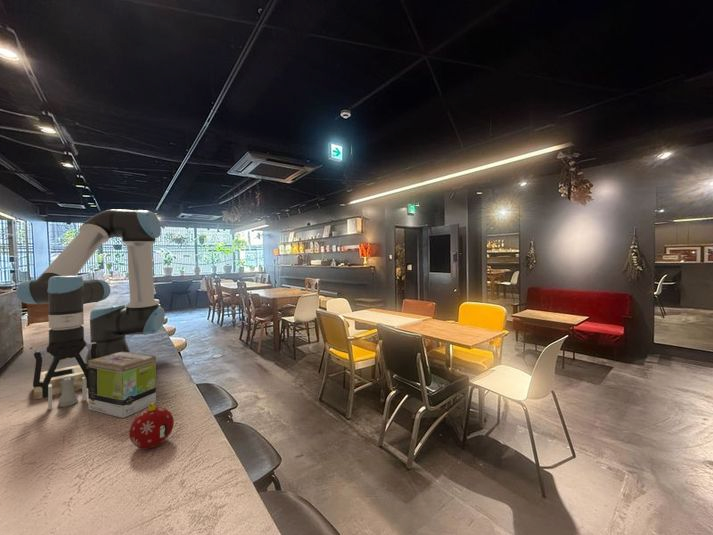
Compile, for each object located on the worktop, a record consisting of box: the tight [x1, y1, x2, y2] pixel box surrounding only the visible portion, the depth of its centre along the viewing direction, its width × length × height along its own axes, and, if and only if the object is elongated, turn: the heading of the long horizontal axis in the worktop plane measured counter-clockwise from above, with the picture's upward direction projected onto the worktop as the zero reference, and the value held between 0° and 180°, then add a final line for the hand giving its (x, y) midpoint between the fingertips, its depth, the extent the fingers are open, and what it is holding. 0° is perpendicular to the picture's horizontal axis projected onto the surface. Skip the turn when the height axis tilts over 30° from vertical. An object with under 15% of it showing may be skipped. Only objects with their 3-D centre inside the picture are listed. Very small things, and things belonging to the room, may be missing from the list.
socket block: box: [33, 364, 85, 400], centre depth 100 cm, size 12×12×5 cm
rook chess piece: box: [57, 376, 79, 408], centre depth 89 cm, size 4×4×8 cm
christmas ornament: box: [129, 403, 175, 450], centre depth 70 cm, size 9×9×10 cm
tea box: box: [87, 351, 157, 419], centre depth 88 cm, size 15×10×15 cm
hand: (67, 403), depth 89 cm, fingers open, 7 cm apart
